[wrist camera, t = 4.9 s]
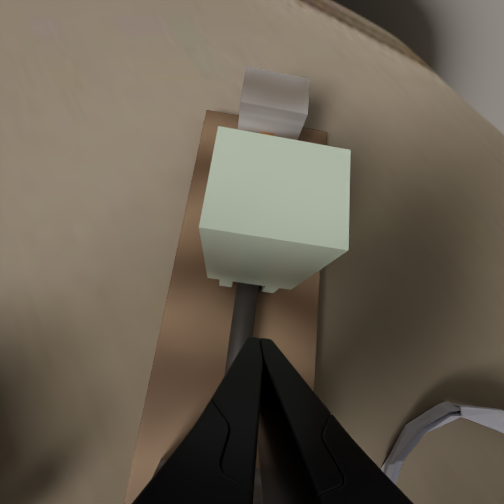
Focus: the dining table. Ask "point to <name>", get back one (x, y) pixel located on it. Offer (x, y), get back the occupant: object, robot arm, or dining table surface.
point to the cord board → (223, 294)
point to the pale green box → (273, 209)
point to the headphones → (433, 420)
